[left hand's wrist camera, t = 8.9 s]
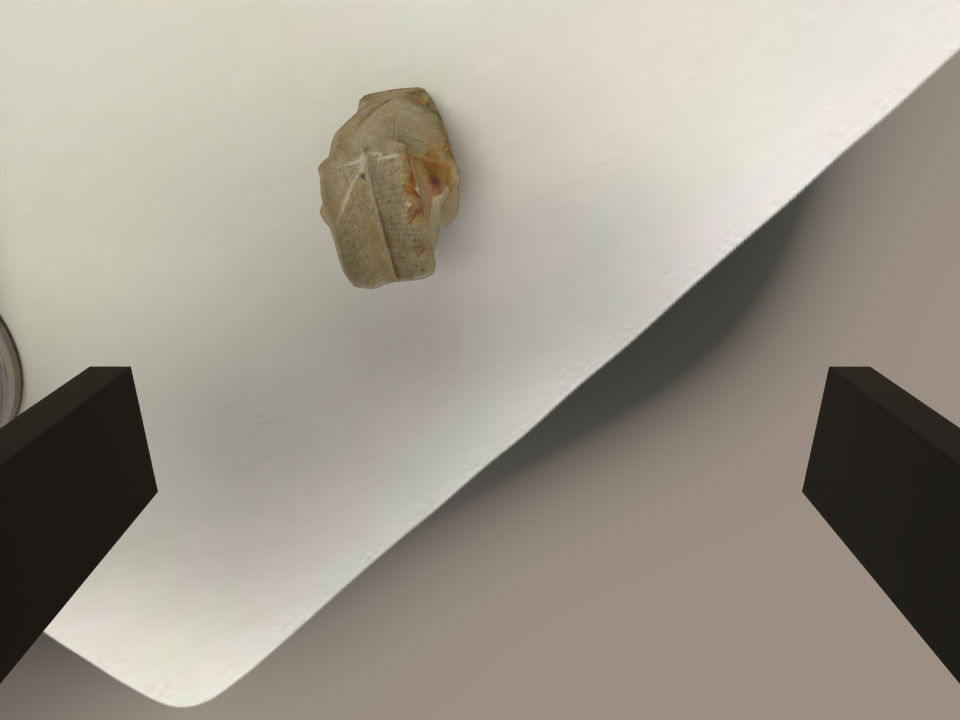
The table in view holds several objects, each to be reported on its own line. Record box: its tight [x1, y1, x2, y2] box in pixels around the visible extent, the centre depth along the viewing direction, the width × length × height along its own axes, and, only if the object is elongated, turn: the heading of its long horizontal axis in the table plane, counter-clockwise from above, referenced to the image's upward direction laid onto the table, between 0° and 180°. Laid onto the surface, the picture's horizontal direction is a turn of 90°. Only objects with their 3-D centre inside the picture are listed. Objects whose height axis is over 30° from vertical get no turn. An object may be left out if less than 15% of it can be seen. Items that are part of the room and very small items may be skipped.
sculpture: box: [318, 87, 461, 289], centre depth 29 cm, size 6×7×15 cm
